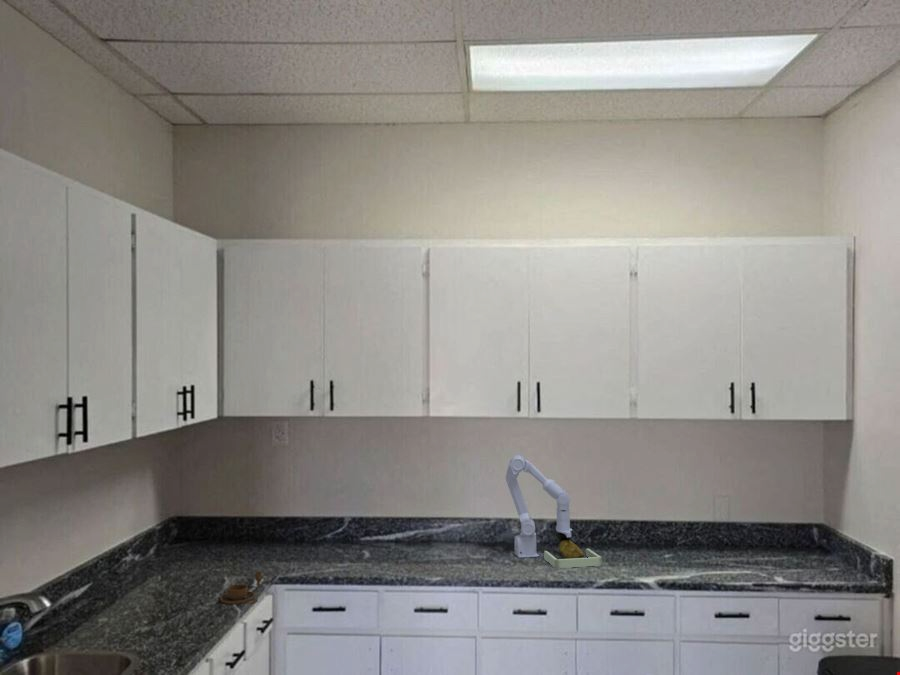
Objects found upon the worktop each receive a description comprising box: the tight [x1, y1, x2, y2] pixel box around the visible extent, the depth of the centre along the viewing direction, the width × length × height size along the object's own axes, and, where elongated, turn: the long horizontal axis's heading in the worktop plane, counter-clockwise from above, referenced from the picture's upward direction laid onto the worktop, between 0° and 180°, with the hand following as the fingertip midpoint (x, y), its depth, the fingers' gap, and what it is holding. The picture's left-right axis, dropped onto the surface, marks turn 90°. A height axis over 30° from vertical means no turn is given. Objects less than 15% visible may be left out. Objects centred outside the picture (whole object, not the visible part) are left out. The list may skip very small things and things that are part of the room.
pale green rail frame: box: [543, 548, 603, 570], centre depth 297 cm, size 20×15×4 cm
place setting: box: [219, 571, 263, 606], centre depth 255 cm, size 18×20×6 cm
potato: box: [558, 539, 585, 559], centre depth 300 cm, size 8×13×8 cm, turn 13°
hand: (563, 550), depth 308 cm, fingers closed
